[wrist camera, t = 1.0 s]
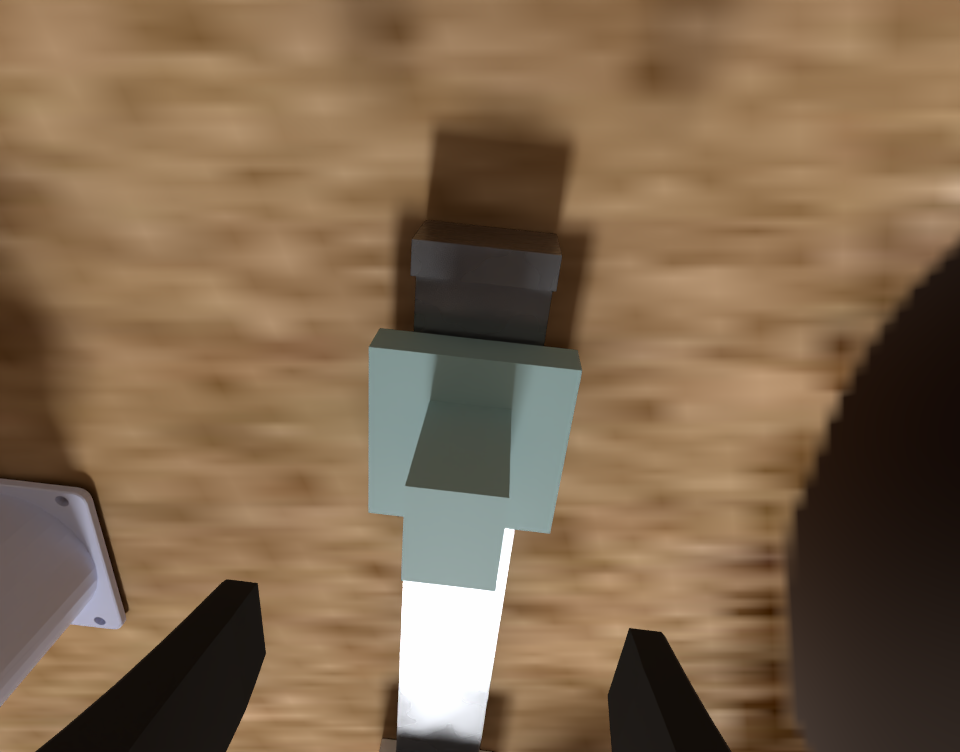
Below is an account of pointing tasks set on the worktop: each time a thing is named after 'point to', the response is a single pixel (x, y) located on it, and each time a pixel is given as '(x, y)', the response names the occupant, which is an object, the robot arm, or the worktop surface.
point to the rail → (476, 613)
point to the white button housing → (394, 746)
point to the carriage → (466, 446)
